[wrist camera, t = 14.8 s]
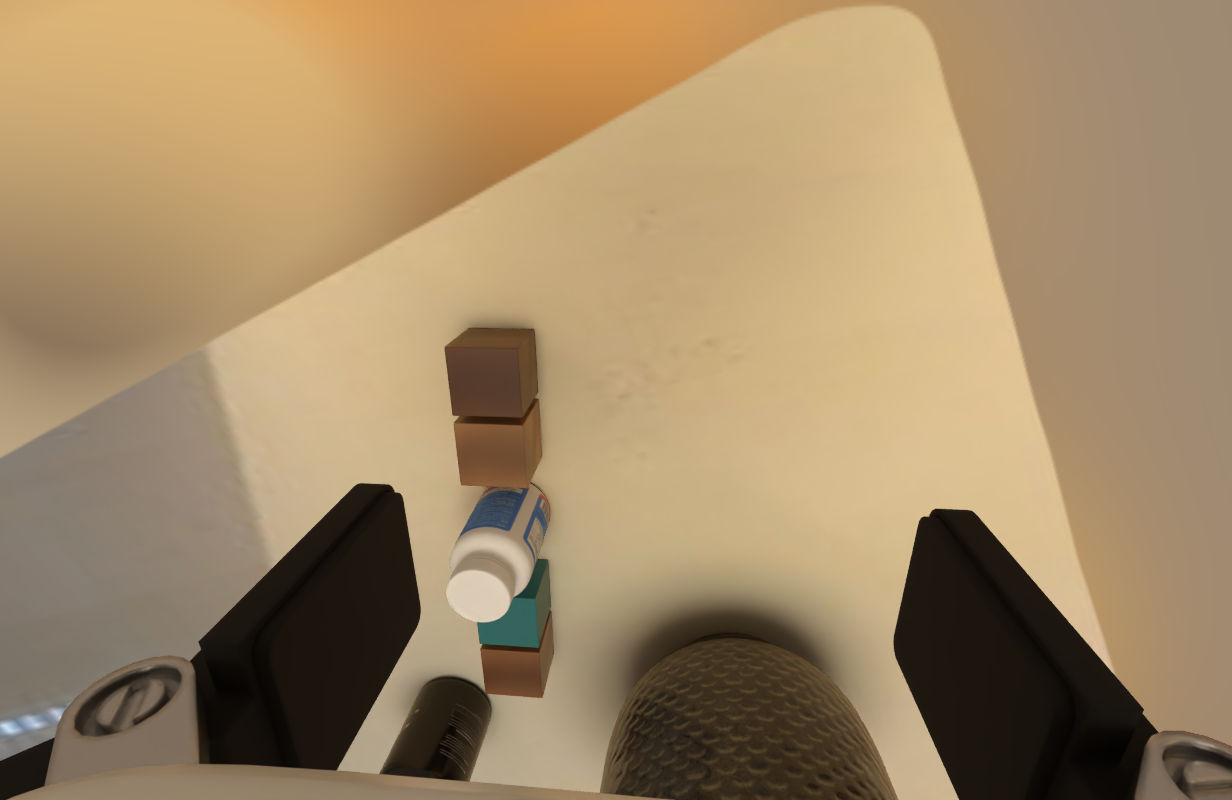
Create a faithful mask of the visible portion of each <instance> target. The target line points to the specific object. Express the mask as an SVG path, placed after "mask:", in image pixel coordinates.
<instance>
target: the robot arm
mask: <svg viewBox="0 0 1232 800" xmlns="http://www.w3.org/2000/svg"><path fill="white" fill-rule="evenodd" d="M420 613H421V606H420V600H419V593H418V587H417V581H416V575H415V569H414V563H413V557H412V550H411V544H410V538H409V532H408V526H407V520H406V514H405V508H404V501H403V497H402V495H401V494H400V493H395V492H394V489H393V488H392V486H390V485H387V484H364V483H361V484H357V485H356V486H354V487H353V488H352V489H351V490H350V491H349V492H348V493H347V494H346V495H345V496H344V497H343V498H342V499H341V500H340V501H339V502H338V503H337V504H336V505H335V506H334V507H333V508H332V509H331V510H330V511H329V512H328V513H327V514H326V515H325V516H324V517H323V518H322V519H321V520H320V521H319V522H318V523H317V524H316V525H315V526H314V527H313V528H312V529H311V530H310V531H309V532H308V533H307V534H306V535H305V536H304V537H303V538H302V539H301V540H300V541H299V542H298V543H297V544H296V545H295V546H294V547H293V548H292V549H291V550H290V551H289V552H288V553H287V554H286V555H285V556H284V557H283V558H282V559H281V560H280V561H279V562H278V563H277V564H276V565H275V566H274V567H273V568H272V569H271V570H270V571H269V572H268V573H267V574H266V575H265V576H264V577H263V578H262V579H261V580H260V581H259V582H258V583H257V584H256V585H255V586H254V587H253V588H252V589H251V590H250V591H249V592H248V593H247V594H246V595H245V596H244V597H243V598H242V599H241V600H240V601H239V602H238V603H237V604H236V605H235V606H234V607H233V608H232V609H231V610H230V611H229V612H228V613H227V614H226V615H225V616H224V617H223V618H222V619H221V620H220V621H219V622H218V623H217V624H216V625H215V626H214V627H213V628H212V629H211V630H210V631H209V632H208V633H207V634H206V635H205V636H204V637H203V638H202V639H201V640H200V641H199V644H200V647H201V650H200V651H199V652H198V653H197V654H196V656H195V657H194V658H193V659H192V660H191V661H190V662H189V661H187V660H186V659H184V658H181V657H175V656H161V657H152V658H148V659H145V660H141V661H138V662H134V663H132V664H129V665H127V666H125V667H122V668H120V669H118V670H116V671H113V672H112V673H110V674H108V675H107V676H105V677H103V678H102V679H100V680H98V681H97V682H95V683H93V684H92V685H91V686H90V687H88V688H87V689H86V690H85V691H83V692H82V693H81V694H80V695H79V696H77V697H76V698H75V699H74V701H73V702H72V703H71V704H70V705H69V706H68V708H67V709H66V710H65V711H64V713H63V715H62V717H61V719H60V721H59V724H58V726H57V730H56V735H55V738H52V739H50V740H48V741H45V742H43V743H41V744H39V745H36V746H34V747H32V748H29V749H27V750H25V751H22V752H20V753H18V754H16V755H13V756H11V757H9V758H6V759H4V760H2V761H0V800H670V799H659V798H648V797H637V796H626V795H615V794H604V793H593V792H581V791H570V790H559V789H548V788H537V787H526V786H514V785H502V784H491V783H479V782H467V781H455V780H443V779H431V778H420V777H408V776H396V775H384V774H372V773H360V772H348V771H336V770H337V769H338V767H339V765H340V763H341V761H342V760H343V758H344V756H345V754H346V753H347V751H348V749H349V747H350V745H351V744H352V742H353V740H354V738H355V736H356V735H357V733H358V731H359V729H360V728H361V726H362V724H363V722H364V720H365V719H366V717H367V715H368V713H369V712H370V710H371V708H372V706H373V704H374V703H375V701H376V699H377V697H378V696H379V694H380V692H381V690H382V688H383V687H384V685H385V683H386V681H387V679H388V678H389V676H390V674H391V672H392V671H393V669H394V667H395V665H396V663H397V662H398V660H399V658H400V656H401V655H402V653H403V651H404V649H405V647H406V646H407V644H408V642H409V640H410V639H411V637H412V635H413V633H414V631H415V630H416V628H417V625H418V623H419V619H420ZM894 652H895V656H896V659H897V662H898V664H899V666H900V668H901V671H902V673H903V675H904V677H905V679H906V682H907V684H908V686H909V688H910V691H911V693H912V695H913V697H914V700H915V702H916V704H917V706H918V709H919V711H920V713H921V715H922V718H923V720H924V722H925V724H926V726H927V729H928V731H929V733H930V735H931V738H932V740H933V742H934V744H935V747H936V749H937V751H938V753H939V756H940V758H941V760H942V762H943V765H944V767H945V769H946V771H947V774H948V776H949V778H950V780H951V782H952V785H953V787H954V789H955V791H956V794H957V796H958V798H959V800H1232V746H1230V745H1227V744H1225V743H1222V742H1219V741H1217V740H1214V739H1212V738H1209V737H1207V736H1203V735H1199V734H1194V733H1190V732H1185V731H1163V732H1160V733H1159V732H1158V731H1157V730H1156V729H1155V728H1154V727H1153V725H1152V724H1151V723H1150V722H1149V721H1148V720H1147V718H1146V717H1145V716H1144V715H1143V714H1142V713H1143V711H1144V709H1143V708H1142V707H1141V705H1140V704H1139V703H1138V702H1137V701H1136V700H1135V698H1134V697H1133V696H1132V695H1131V694H1130V693H1129V691H1128V690H1127V689H1126V688H1125V687H1124V686H1123V685H1122V684H1121V682H1120V681H1119V680H1118V679H1117V677H1116V676H1115V675H1114V674H1113V673H1112V672H1111V671H1110V669H1109V668H1108V667H1107V666H1106V665H1105V664H1104V662H1103V661H1102V660H1101V659H1100V658H1099V657H1098V655H1097V654H1096V653H1095V652H1094V651H1093V650H1092V648H1091V647H1090V646H1089V645H1088V644H1087V643H1086V641H1085V640H1084V639H1083V638H1082V637H1081V636H1080V634H1079V633H1078V632H1077V631H1076V630H1075V629H1074V628H1073V626H1072V625H1071V624H1070V623H1069V622H1068V621H1067V619H1066V618H1065V617H1064V616H1063V615H1062V614H1061V612H1060V611H1059V610H1058V609H1057V608H1056V607H1055V605H1054V604H1053V603H1052V602H1051V601H1050V600H1049V598H1048V597H1047V596H1046V595H1045V594H1044V593H1043V591H1042V590H1041V589H1040V588H1039V587H1038V586H1037V585H1036V583H1035V582H1034V581H1033V580H1032V579H1031V578H1030V576H1029V575H1028V574H1027V573H1026V572H1025V571H1024V569H1023V568H1022V567H1021V566H1020V565H1019V564H1018V562H1017V561H1016V560H1015V559H1014V558H1013V557H1012V555H1011V554H1010V553H1009V552H1008V551H1007V550H1006V548H1005V547H1004V546H1003V545H1002V544H1001V543H1000V542H999V540H998V539H997V538H996V537H995V536H994V535H993V533H992V532H991V531H990V530H989V529H988V528H987V526H986V525H985V524H984V523H983V522H982V521H981V519H980V518H979V517H978V516H977V515H976V514H975V513H974V512H973V511H970V510H952V509H934V510H933V511H932V512H931V514H930V516H929V517H922V518H921V519H920V521H919V524H918V528H917V533H916V537H915V542H914V547H913V551H912V556H911V560H910V565H909V569H908V574H907V579H906V583H905V588H904V592H903V597H902V602H901V606H900V611H899V615H898V620H897V624H896V629H895V634H894Z"/></svg>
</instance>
